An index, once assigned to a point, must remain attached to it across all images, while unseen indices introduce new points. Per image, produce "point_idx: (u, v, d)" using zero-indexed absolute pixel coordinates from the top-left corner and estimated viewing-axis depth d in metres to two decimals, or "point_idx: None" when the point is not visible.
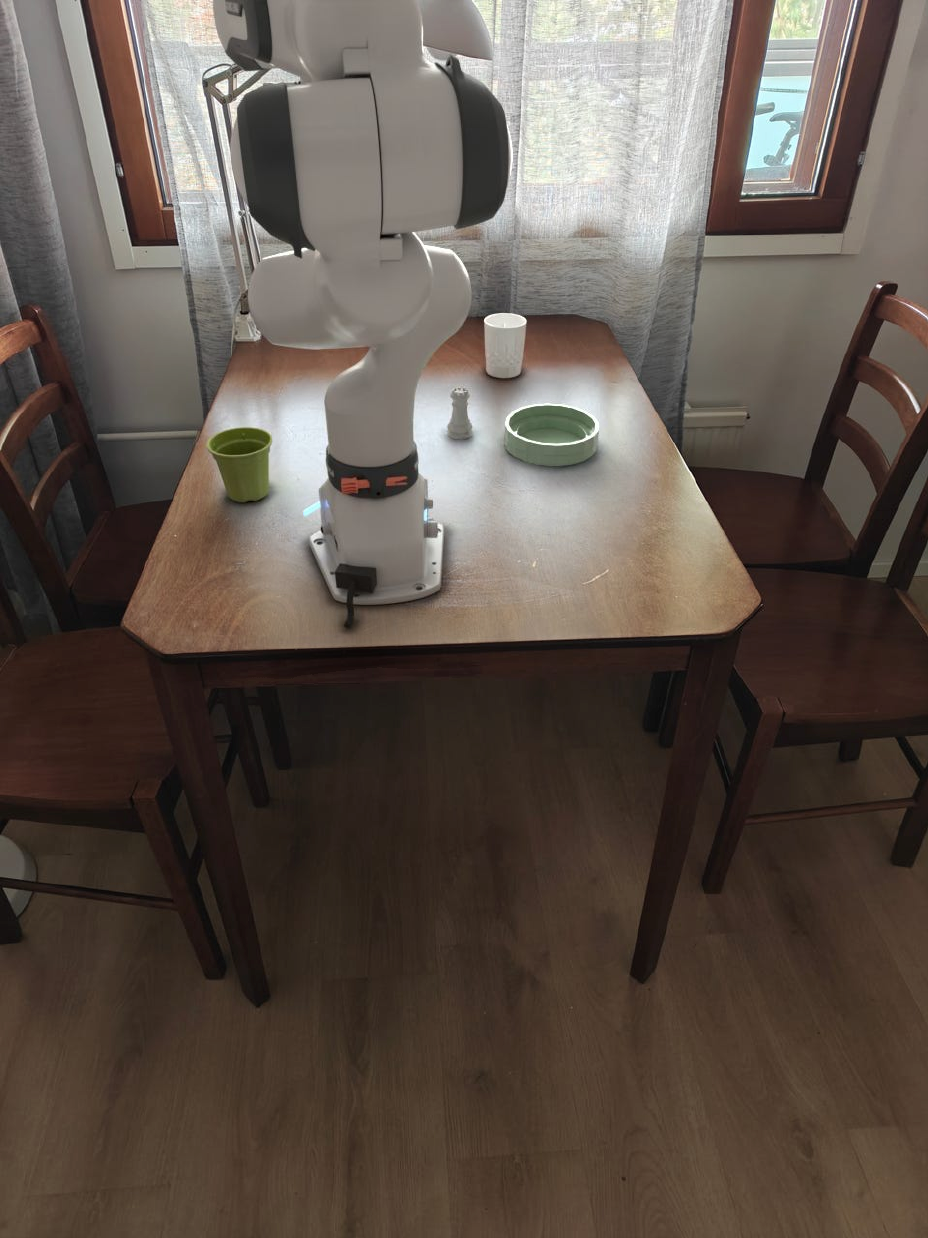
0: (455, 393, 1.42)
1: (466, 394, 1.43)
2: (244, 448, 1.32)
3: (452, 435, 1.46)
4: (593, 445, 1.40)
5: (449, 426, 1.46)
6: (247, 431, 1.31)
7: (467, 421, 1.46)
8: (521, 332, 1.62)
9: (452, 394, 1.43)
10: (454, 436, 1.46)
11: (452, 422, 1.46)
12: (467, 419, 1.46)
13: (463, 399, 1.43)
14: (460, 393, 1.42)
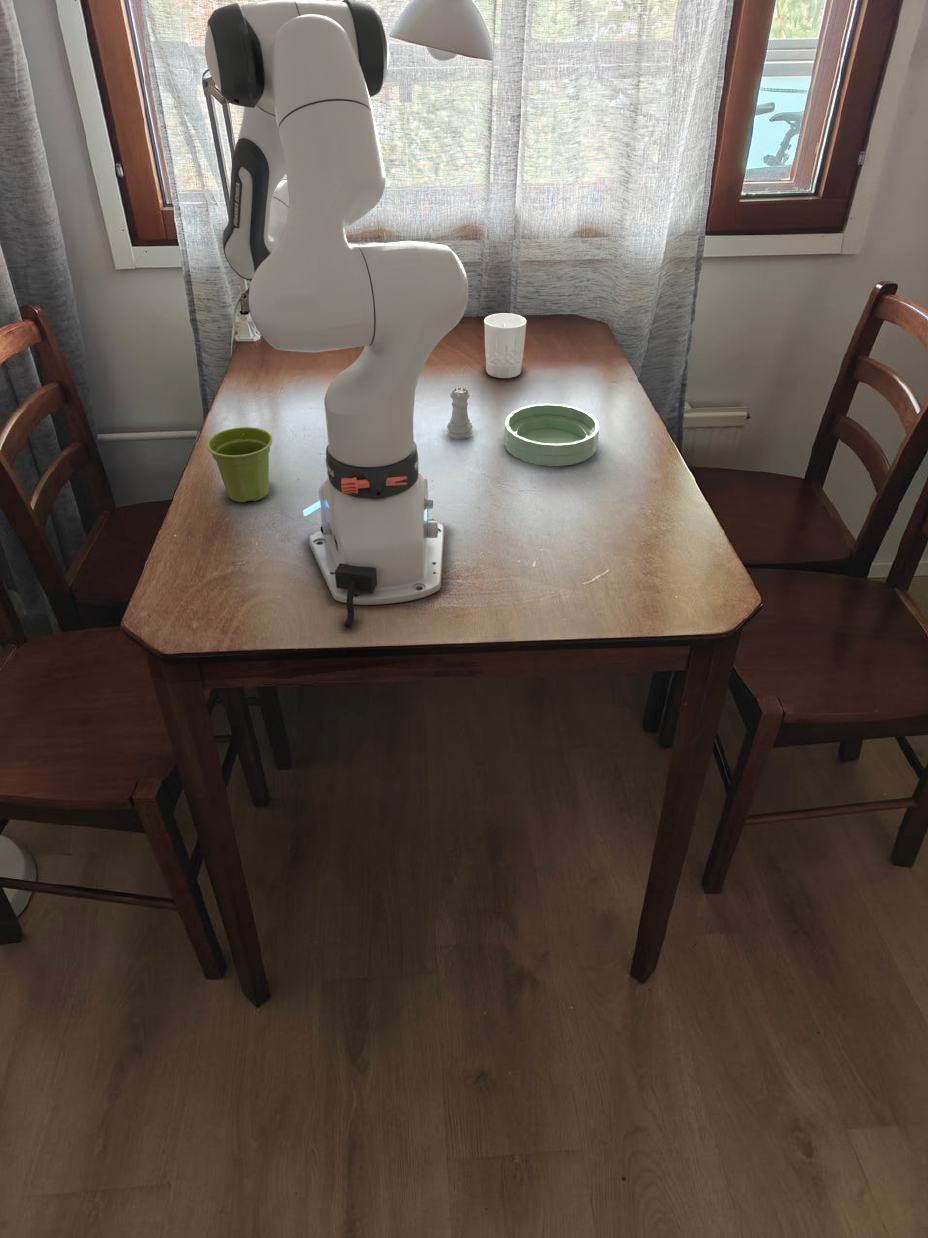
0: (455, 393, 1.42)
1: (466, 394, 1.43)
2: (244, 448, 1.32)
3: (452, 435, 1.46)
4: (593, 445, 1.40)
5: (449, 426, 1.46)
6: (247, 431, 1.31)
7: (467, 421, 1.46)
8: (521, 332, 1.62)
9: (452, 394, 1.43)
10: (454, 436, 1.46)
11: (452, 422, 1.46)
12: (467, 419, 1.46)
13: (463, 399, 1.43)
14: (460, 393, 1.42)
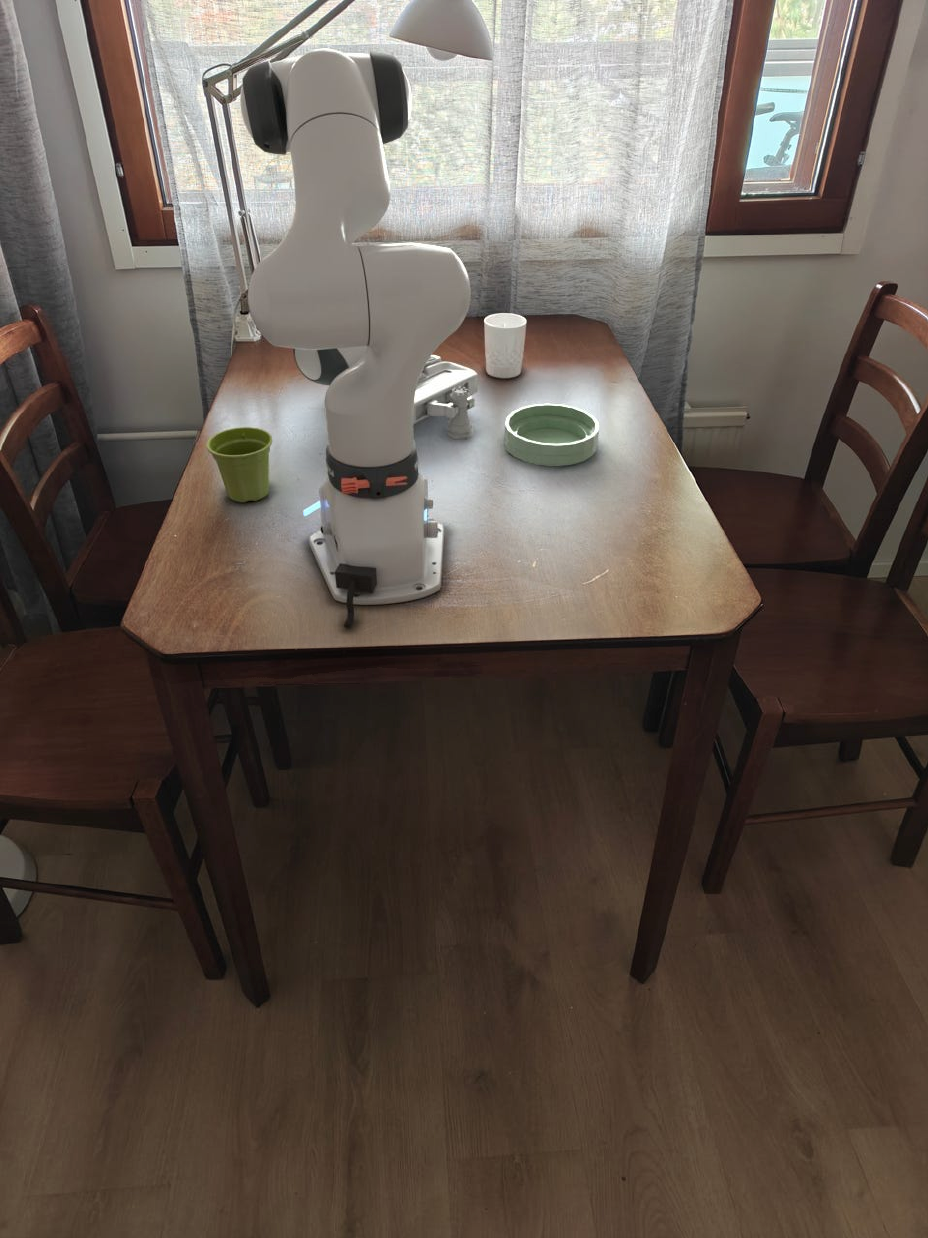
0: (455, 393, 1.42)
1: (466, 394, 1.43)
2: (244, 448, 1.32)
3: (452, 435, 1.46)
4: (593, 445, 1.40)
5: (449, 426, 1.46)
6: (247, 431, 1.31)
7: (467, 421, 1.46)
8: (521, 332, 1.62)
9: (452, 394, 1.43)
10: (454, 436, 1.46)
11: (452, 422, 1.46)
12: (467, 419, 1.46)
13: (463, 399, 1.43)
14: (460, 393, 1.42)
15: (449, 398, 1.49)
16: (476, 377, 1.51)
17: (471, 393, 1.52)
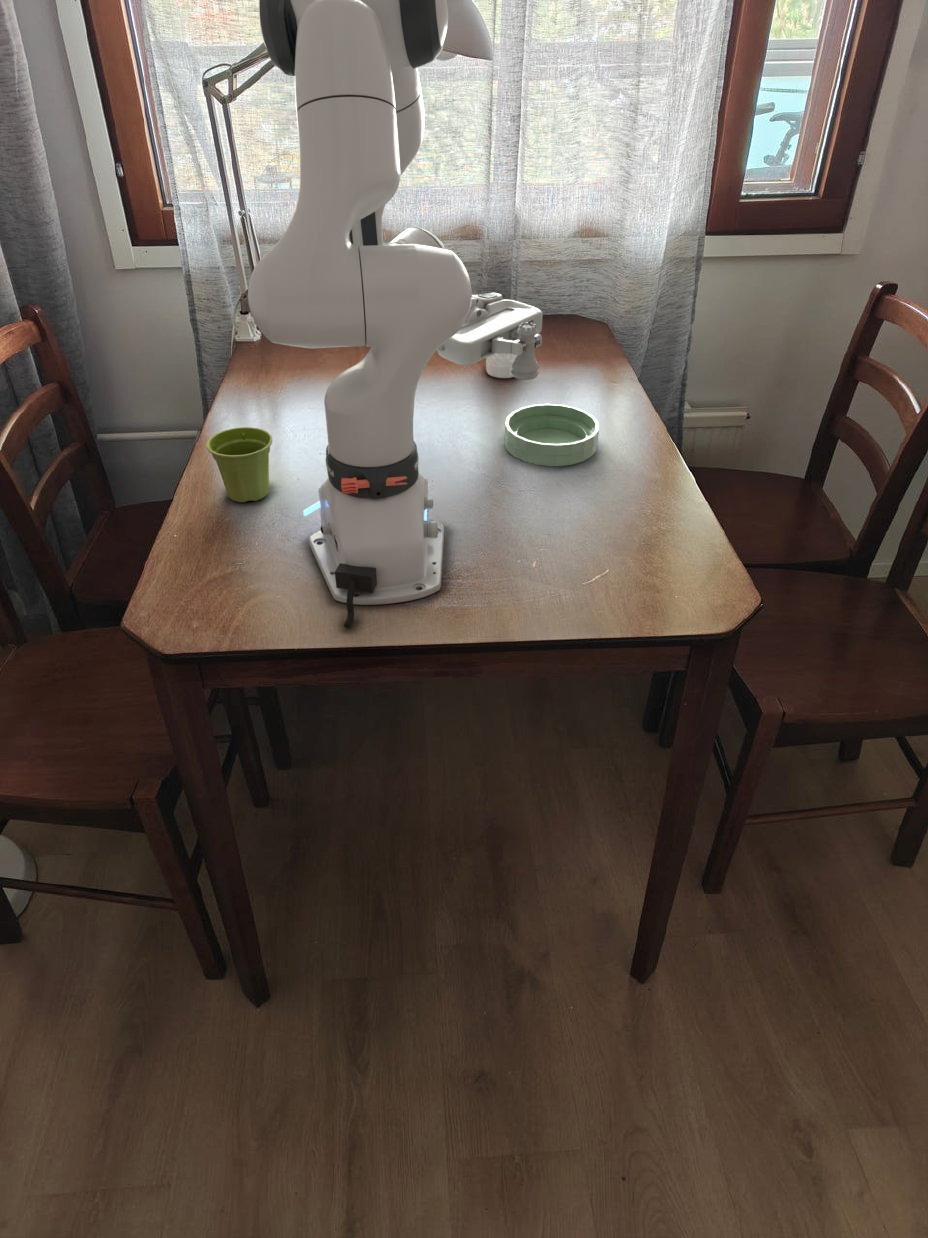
0: (523, 328, 1.33)
1: (534, 329, 1.33)
2: (244, 448, 1.32)
3: (517, 375, 1.37)
4: (593, 445, 1.40)
5: (514, 365, 1.37)
6: (247, 431, 1.31)
7: (534, 360, 1.36)
8: None
9: (519, 329, 1.33)
10: (520, 376, 1.37)
11: (518, 361, 1.36)
12: (534, 358, 1.36)
13: (531, 335, 1.33)
14: (528, 328, 1.33)
15: (513, 336, 1.39)
16: (541, 315, 1.42)
17: None
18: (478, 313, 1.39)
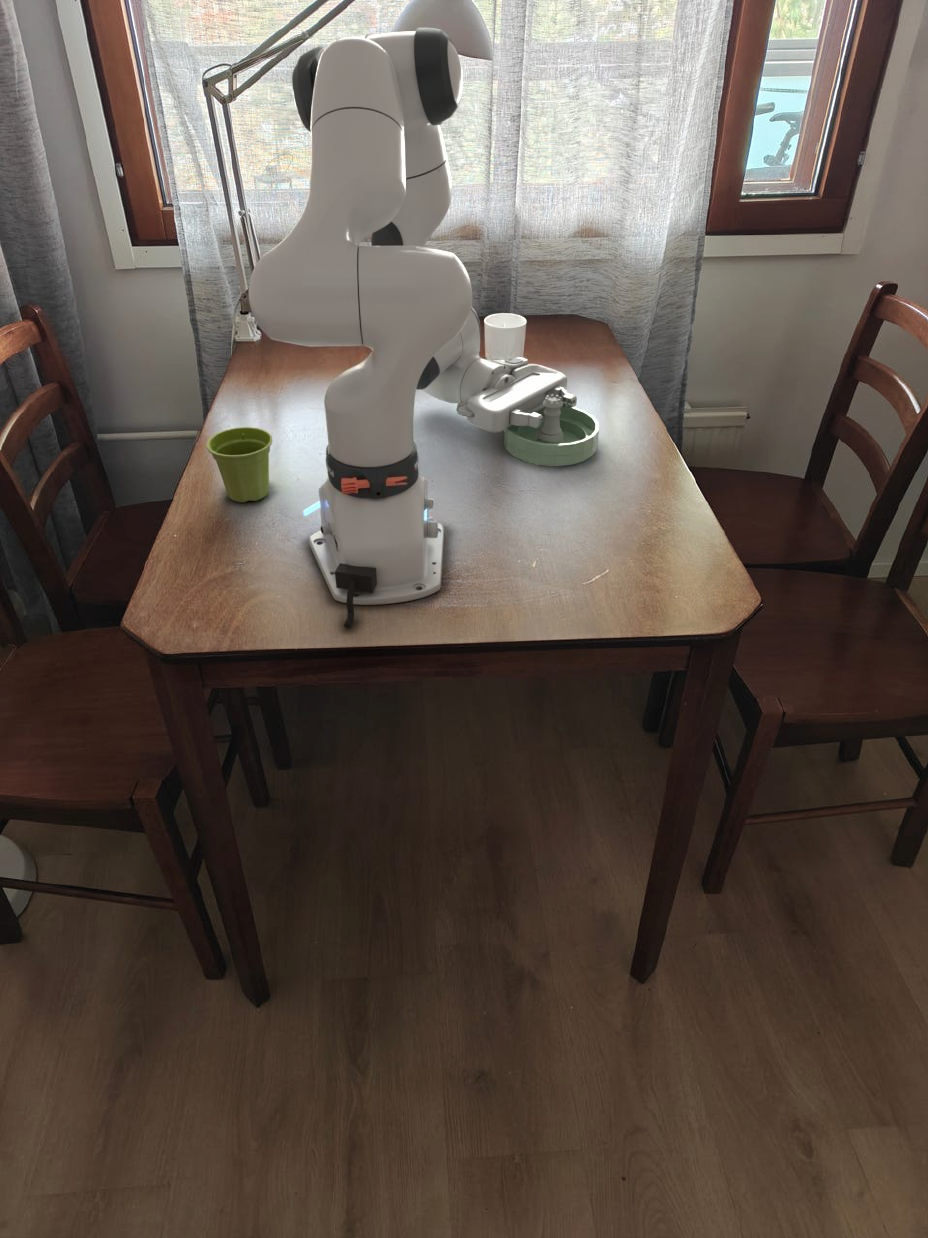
0: (549, 401, 1.39)
1: (560, 402, 1.39)
2: (244, 448, 1.32)
3: None
4: (593, 445, 1.40)
5: (540, 435, 1.43)
6: (247, 431, 1.31)
7: (559, 430, 1.42)
8: (521, 332, 1.62)
9: (545, 402, 1.39)
10: None
11: (543, 431, 1.42)
12: (559, 428, 1.42)
13: (557, 407, 1.39)
14: (554, 401, 1.39)
15: (549, 396, 1.46)
16: (565, 380, 1.47)
17: None
18: (505, 379, 1.44)
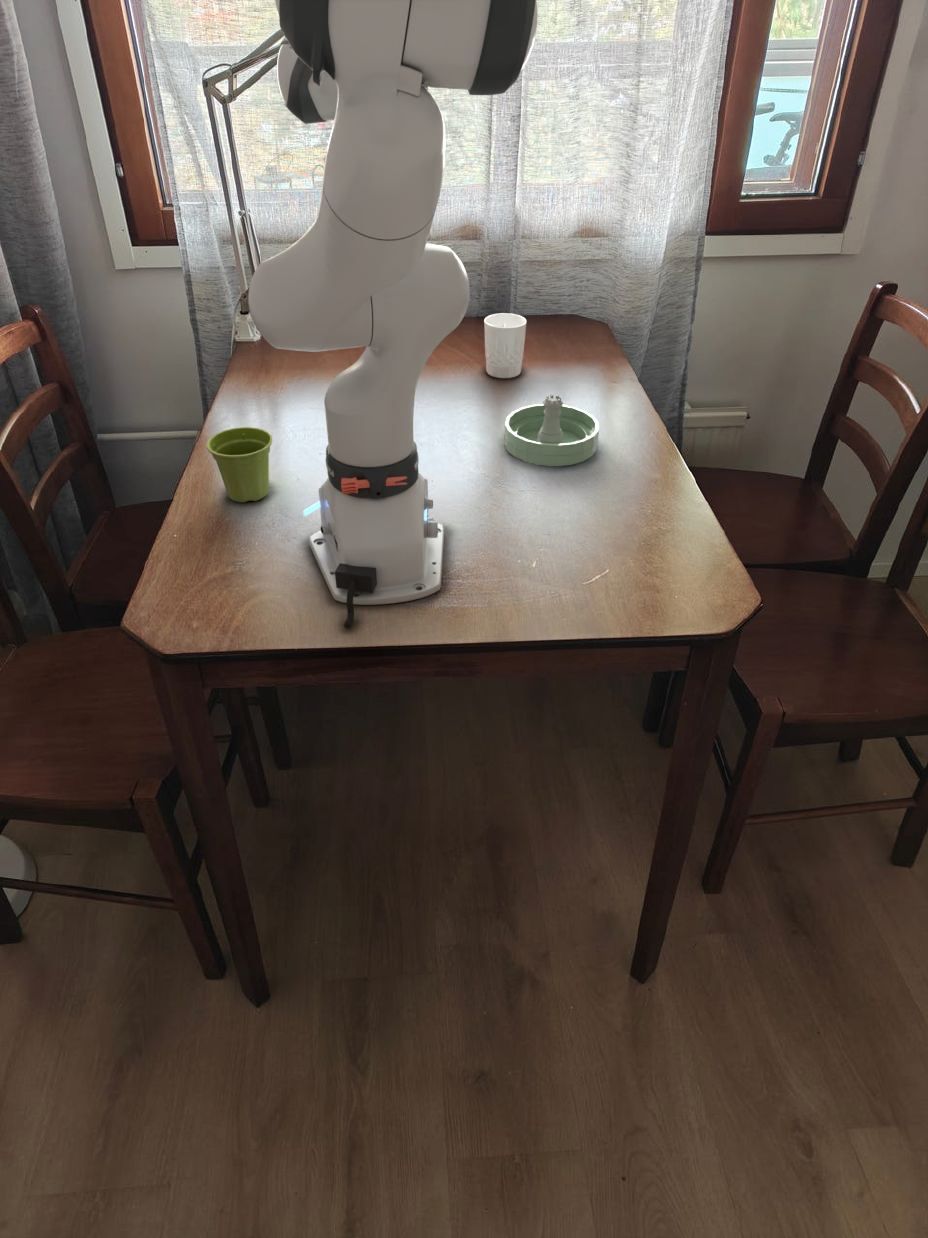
0: (549, 401, 1.39)
1: (560, 402, 1.39)
2: (244, 448, 1.32)
3: None
4: (593, 445, 1.40)
5: (540, 435, 1.43)
6: (247, 431, 1.31)
7: (559, 430, 1.42)
8: (521, 332, 1.62)
9: (545, 402, 1.39)
10: None
11: (543, 431, 1.42)
12: (559, 428, 1.42)
13: (557, 407, 1.39)
14: (554, 401, 1.39)
15: None
16: None
17: None
18: None
